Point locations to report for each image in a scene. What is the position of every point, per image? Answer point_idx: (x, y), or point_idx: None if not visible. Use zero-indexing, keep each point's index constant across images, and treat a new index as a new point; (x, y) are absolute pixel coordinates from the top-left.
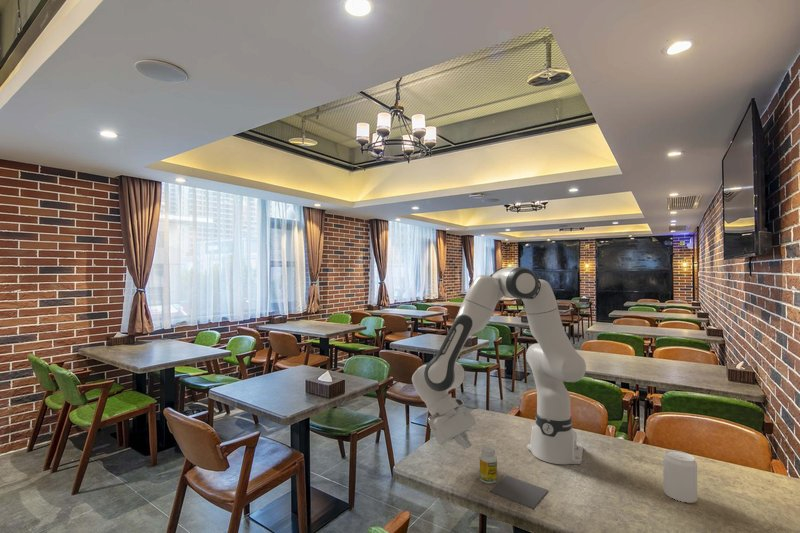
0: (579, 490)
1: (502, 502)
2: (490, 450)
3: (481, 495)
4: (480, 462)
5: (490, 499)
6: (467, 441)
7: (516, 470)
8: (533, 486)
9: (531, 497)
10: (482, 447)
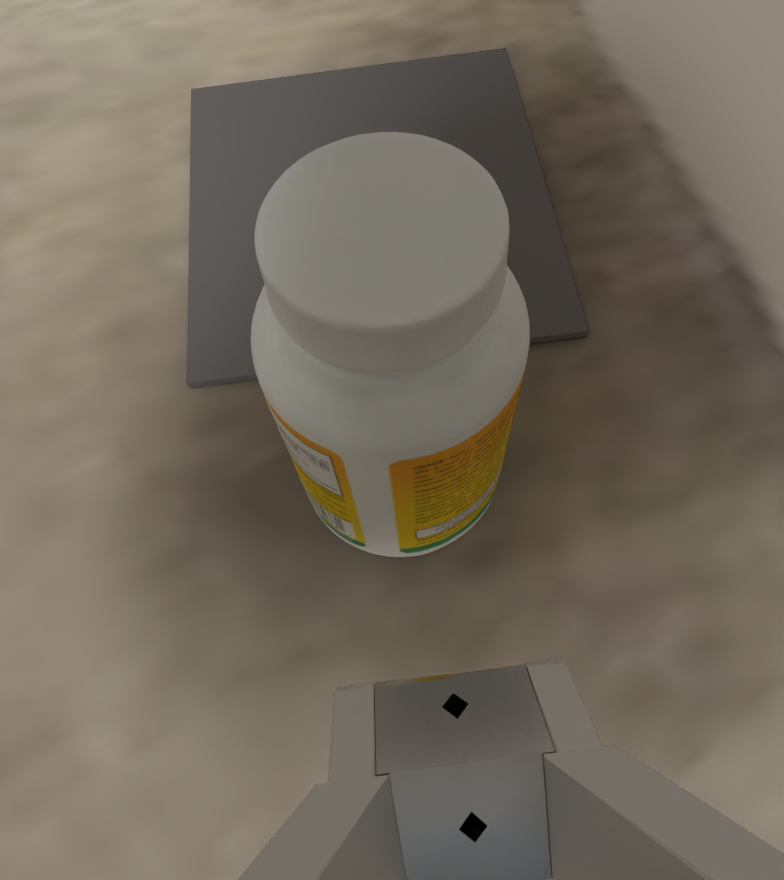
0: (39, 6)
1: (627, 198)
2: (420, 164)
3: (707, 348)
4: (506, 417)
5: (682, 271)
6: (437, 755)
7: (6, 387)
8: (219, 160)
9: (389, 105)
10: (424, 315)
